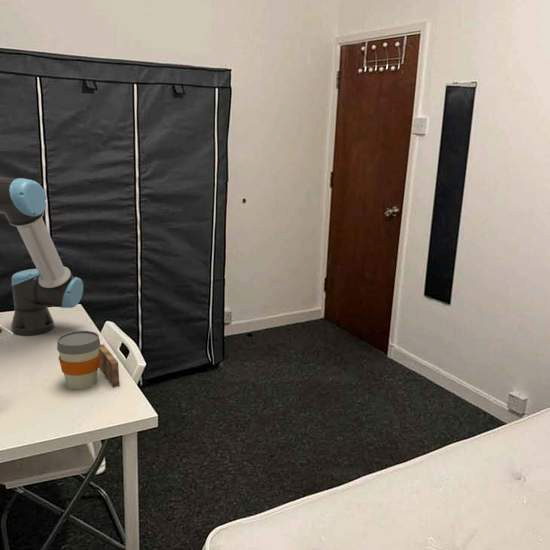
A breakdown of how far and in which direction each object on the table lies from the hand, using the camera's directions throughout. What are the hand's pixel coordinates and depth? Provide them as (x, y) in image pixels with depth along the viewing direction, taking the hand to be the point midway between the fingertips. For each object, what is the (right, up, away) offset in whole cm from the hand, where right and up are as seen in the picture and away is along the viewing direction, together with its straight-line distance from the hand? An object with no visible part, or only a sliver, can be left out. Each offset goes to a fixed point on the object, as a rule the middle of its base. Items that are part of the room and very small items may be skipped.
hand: (9, 337), depth 156 cm
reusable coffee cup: (+15, -16, +15) cm, 27 cm away
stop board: (+22, -15, +20) cm, 33 cm away
